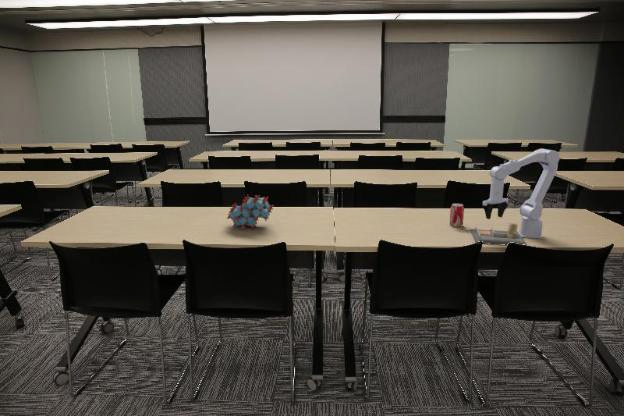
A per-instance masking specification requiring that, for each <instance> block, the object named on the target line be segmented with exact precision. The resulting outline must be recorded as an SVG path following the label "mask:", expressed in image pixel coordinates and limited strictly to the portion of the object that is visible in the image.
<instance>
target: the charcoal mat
mask: <svg viewBox="0 0 624 416" xmlns="http://www.w3.org/2000/svg"><path fill="white" fill-rule="evenodd" d="M477 229H478V228H477ZM493 230H494V229H493ZM478 231H479V233H480V236H481V237H493V235H492V233H491V229H481V228H480V229H478ZM470 232H471V234H472V237H473V240H474V243H475V242H478V241H479V239H478V236H477V234H476V231H475V228H470ZM494 232H495V233H505V234H507V232H508V230H494ZM518 232H519V231H517V234H519V233H518ZM496 238H502V237H496ZM523 238H524V237H521V236H520V234H519V238H516V239H522V244H525V245H527V246H528V244H527V243H526V241H525V239H523ZM483 243H490V244H489V245H494V244H505V245H504V246H508V245H507V244H508V243H506V242H492V241H483ZM519 244H521V243H519Z"/></svg>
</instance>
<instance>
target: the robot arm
mask: <svg viewBox="0 0 624 416" xmlns="http://www.w3.org/2000/svg"><path fill="white" fill-rule="evenodd" d="M560 159H561V156H560V154H559V153H558V151H556V150H554V149H553V150H552V149H546V148H543V147H542V148H538V149H536V150H534V151H533V152H531V153H529V154H527V155H526V156H523V157H522V158H520V159H518V160H517V159H509V160H508V162H505V163H503V164H502V163H501V164H499V166H498V165H497V166H493V167H492V168H491V169H490V171H489V176H490V177H491V179H490V180H491V181H490V182H491V183H490V192H489V198H488V199H486V200H483V201H482V207H483V210H484V214H485V219H487V220H491V218H492V212H493V209H494V206H493V205H497V217H499V218H503V215H504V214H505V211H506V209H507V208H508V207H509V198H506V197H505V198H504V197H503V195H504V185H505V179H506V178H507V177H508V176H509V175H512V174H514V173H516V172H518V171H520V169H521V167H524V166H526V165H530V164H532V163H534V162H538V163H539V164H540V165H541V166H542V169H543V170H542V173H541V174H540V177H539V179H538V181H537V183H536V185H535V187H534V189H533V191H532V194H531V195H530V197H529V199H526V200H525V201H524V203H523V204H522V205H520V207H519V213H520V216H521V219H520V220H521V221H520V229H519V231H517V232H518V233H519V234H520V236H521V237H522V238H528V239H529V238H530V239H542V233H543V220H542V219H541V217H542V216H543V215H542V214H543V209H544V206H543V204H542V203H543V200H544V198H545V196H546V194H547V192H548V190H549V189H550V186H551V184H552V182H553V180H554V177H555V175H556V174H557V172H558V167H559V161H560Z"/></svg>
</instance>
